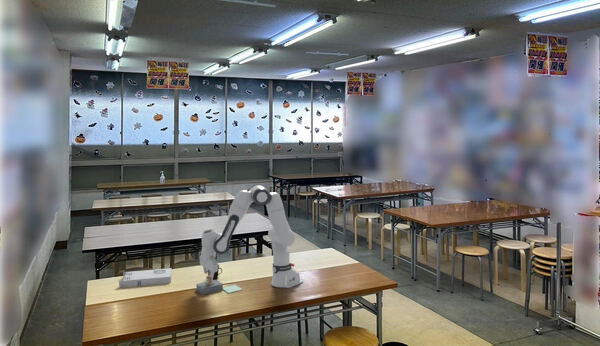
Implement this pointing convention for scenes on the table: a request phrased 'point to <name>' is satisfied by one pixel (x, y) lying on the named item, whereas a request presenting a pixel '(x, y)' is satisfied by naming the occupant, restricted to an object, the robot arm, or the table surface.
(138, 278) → the power supply unit
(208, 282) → the plug
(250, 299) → the table surface
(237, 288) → the mat
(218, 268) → the coffee mug
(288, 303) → the table surface
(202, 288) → the gray rectangular block
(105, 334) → the table surface
